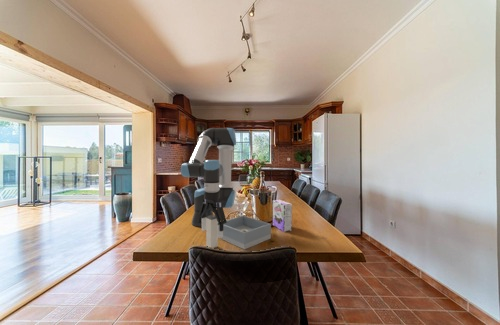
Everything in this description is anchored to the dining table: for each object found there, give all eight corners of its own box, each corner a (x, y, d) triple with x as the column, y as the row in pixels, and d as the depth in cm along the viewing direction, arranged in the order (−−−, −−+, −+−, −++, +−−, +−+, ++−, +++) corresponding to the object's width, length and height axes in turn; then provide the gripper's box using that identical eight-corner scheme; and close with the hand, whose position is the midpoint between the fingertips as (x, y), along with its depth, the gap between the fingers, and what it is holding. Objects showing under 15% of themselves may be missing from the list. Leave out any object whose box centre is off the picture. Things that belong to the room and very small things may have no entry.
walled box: (217, 237, 119) (217, 222, 119) (243, 228, 133) (243, 215, 133) (244, 249, 103) (244, 233, 103) (270, 238, 117) (271, 223, 117)
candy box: (272, 225, 140) (272, 200, 139) (280, 224, 142) (280, 199, 141) (283, 232, 127) (283, 204, 126) (292, 230, 129) (292, 203, 129)
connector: (206, 246, 107) (206, 216, 106) (212, 243, 110) (212, 214, 109) (210, 248, 104) (210, 217, 103) (217, 246, 107) (217, 216, 106)
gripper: (191, 189, 112) (192, 229, 113) (221, 195, 94) (221, 243, 95) (204, 187, 117) (204, 226, 118) (234, 193, 100) (234, 238, 100)
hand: (211, 233), depth 106 cm, fingers open, 13 cm apart
